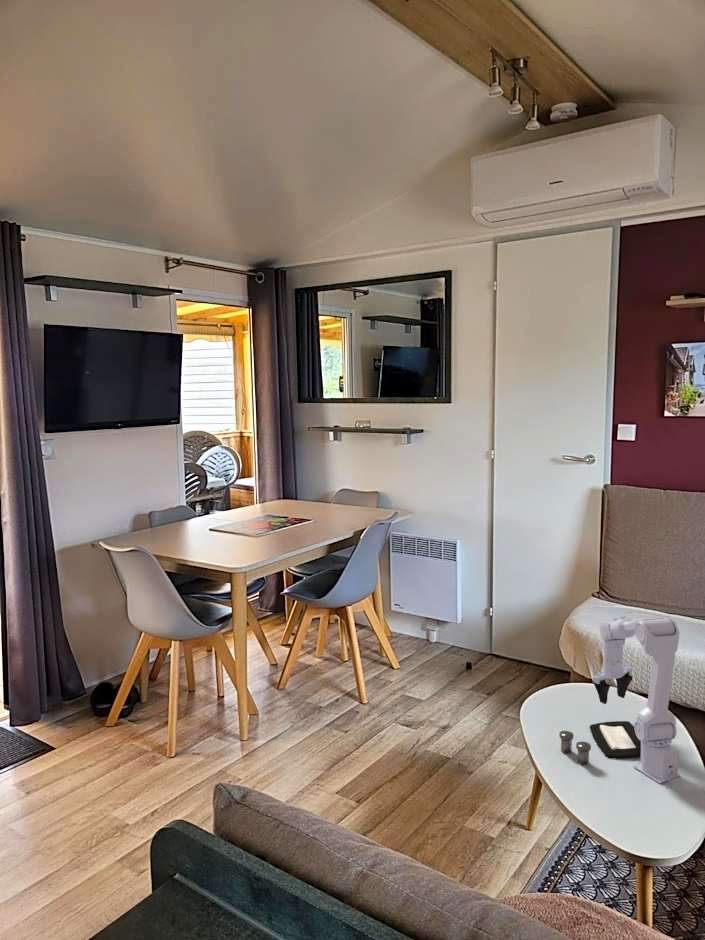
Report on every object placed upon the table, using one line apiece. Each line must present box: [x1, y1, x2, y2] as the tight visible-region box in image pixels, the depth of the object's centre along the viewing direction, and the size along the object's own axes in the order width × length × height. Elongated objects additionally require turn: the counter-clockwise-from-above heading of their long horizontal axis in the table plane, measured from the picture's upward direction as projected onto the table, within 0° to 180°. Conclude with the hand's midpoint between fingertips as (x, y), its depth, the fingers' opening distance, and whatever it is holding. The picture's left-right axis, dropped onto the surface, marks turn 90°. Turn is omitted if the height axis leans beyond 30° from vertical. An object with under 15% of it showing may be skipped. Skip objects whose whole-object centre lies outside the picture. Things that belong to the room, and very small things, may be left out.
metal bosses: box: [558, 730, 592, 766], centre depth 208 cm, size 11×4×5 cm, turn 26°
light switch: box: [589, 720, 641, 760], centre depth 215 cm, size 20×3×14 cm
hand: (612, 699), depth 222 cm, fingers open, 7 cm apart
